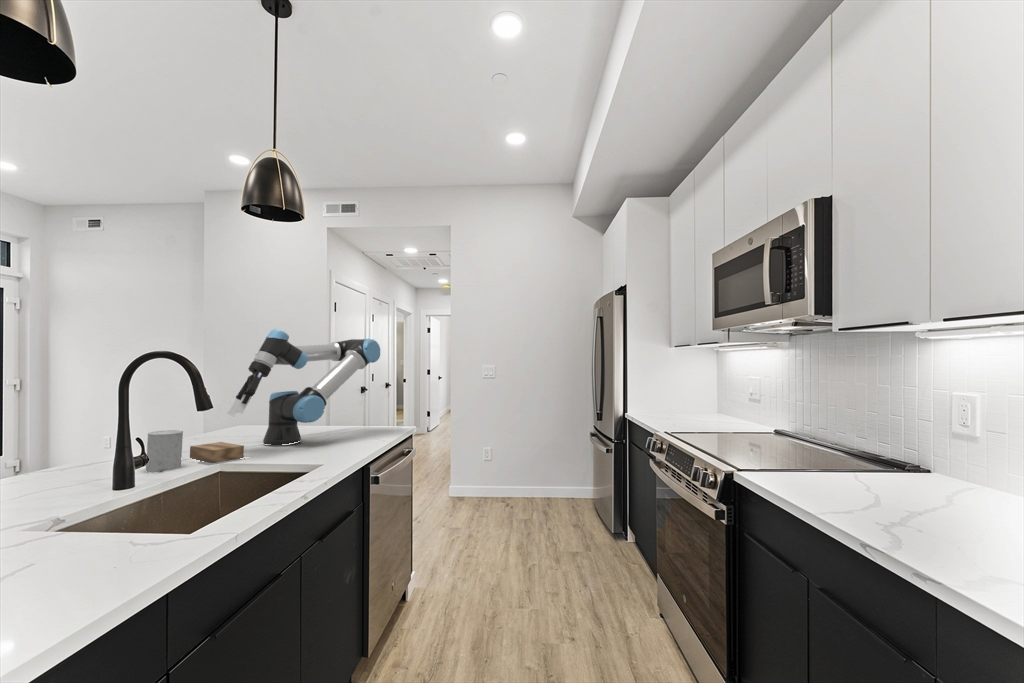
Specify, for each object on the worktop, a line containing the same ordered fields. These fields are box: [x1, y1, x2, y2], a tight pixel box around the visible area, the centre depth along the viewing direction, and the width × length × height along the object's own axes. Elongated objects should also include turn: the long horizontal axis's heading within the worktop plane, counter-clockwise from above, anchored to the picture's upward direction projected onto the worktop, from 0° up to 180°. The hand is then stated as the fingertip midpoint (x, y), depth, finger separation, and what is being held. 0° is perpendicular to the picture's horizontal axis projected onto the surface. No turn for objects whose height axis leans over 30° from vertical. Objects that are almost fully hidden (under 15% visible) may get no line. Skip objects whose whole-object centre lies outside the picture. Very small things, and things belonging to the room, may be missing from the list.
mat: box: [197, 459, 242, 466], centre depth 170 cm, size 16×20×1 cm
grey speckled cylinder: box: [145, 429, 184, 473], centre depth 154 cm, size 10×10×12 cm
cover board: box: [189, 441, 245, 463], centre depth 170 cm, size 11×15×4 cm
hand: (234, 413), depth 174 cm, fingers open, 13 cm apart
